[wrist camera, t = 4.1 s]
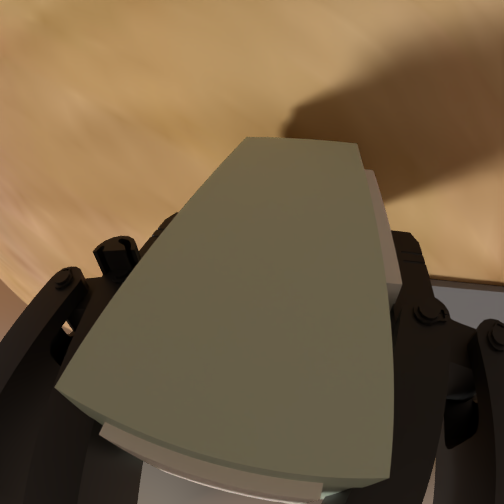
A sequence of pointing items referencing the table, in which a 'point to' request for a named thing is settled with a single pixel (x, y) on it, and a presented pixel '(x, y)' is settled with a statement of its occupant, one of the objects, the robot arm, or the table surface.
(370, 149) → the table surface
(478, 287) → the mat
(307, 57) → the table surface
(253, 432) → the block
